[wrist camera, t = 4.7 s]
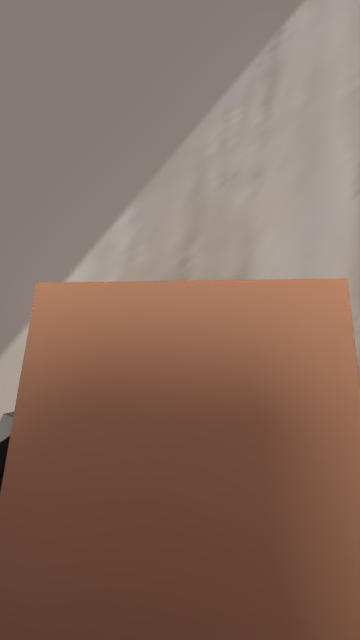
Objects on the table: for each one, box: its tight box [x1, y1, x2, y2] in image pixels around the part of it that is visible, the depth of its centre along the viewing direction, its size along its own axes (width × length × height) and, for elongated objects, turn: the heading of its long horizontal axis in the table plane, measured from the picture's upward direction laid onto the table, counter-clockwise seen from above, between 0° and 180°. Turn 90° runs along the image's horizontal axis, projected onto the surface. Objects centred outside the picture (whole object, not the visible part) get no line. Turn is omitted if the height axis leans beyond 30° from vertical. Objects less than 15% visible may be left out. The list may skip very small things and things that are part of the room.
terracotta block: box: [0, 279, 360, 640], centre depth 9 cm, size 4×4×12 cm
